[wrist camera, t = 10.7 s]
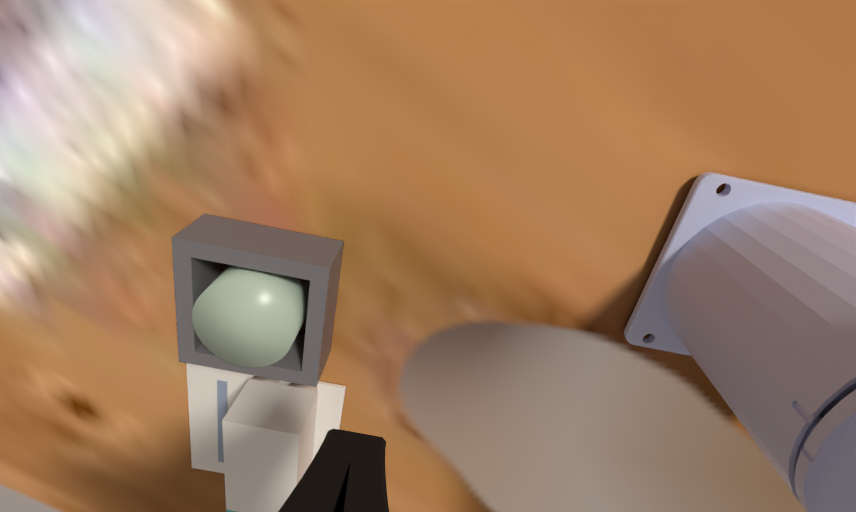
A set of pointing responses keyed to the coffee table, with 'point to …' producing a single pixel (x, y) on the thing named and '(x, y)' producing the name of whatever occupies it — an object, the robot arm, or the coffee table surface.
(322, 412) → the paper
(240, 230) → the button housing
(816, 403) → the robot arm
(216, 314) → the button
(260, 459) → the eraser
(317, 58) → the coffee table surface
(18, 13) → the coffee table surface
